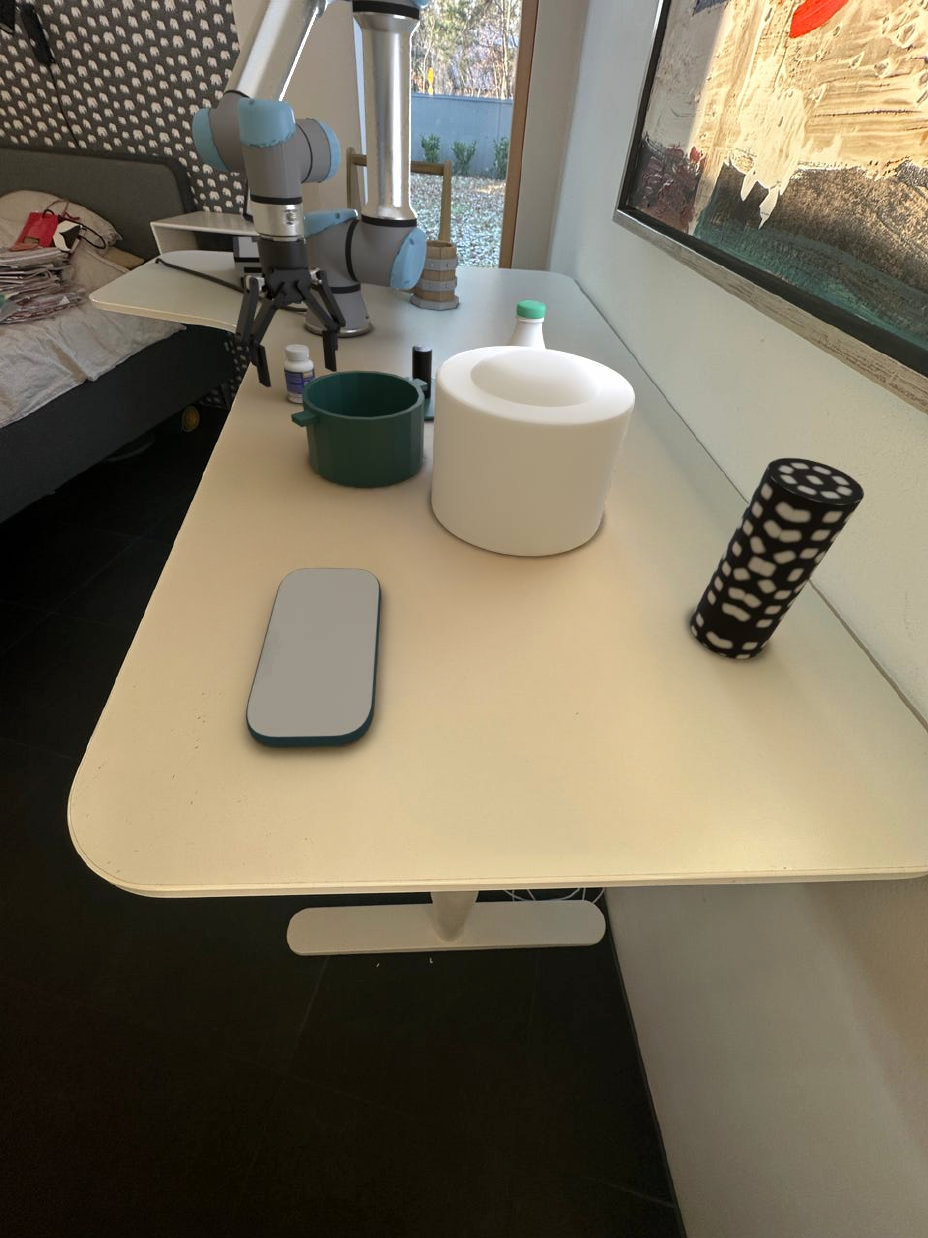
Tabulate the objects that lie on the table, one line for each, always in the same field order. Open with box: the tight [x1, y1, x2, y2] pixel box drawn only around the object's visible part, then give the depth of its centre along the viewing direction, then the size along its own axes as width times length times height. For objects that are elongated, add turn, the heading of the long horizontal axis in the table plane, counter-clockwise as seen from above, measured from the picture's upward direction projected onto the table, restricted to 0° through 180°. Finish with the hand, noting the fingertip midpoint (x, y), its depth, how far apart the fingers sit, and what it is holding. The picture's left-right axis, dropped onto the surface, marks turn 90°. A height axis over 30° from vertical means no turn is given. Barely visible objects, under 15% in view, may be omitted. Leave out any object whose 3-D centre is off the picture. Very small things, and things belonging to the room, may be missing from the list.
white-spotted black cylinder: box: [689, 457, 865, 660], centre depth 57 cm, size 8×8×20 cm
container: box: [430, 345, 636, 557], centre depth 74 cm, size 25×25×20 cm
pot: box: [290, 370, 427, 489], centre depth 84 cm, size 18×23×10 cm
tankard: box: [398, 239, 460, 311], centre depth 148 cm, size 20×13×15 cm, turn 80°
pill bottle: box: [283, 343, 316, 404], centre depth 99 cm, size 5×5×9 cm
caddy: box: [345, 146, 453, 243], centre depth 160 cm, size 29×11×30 cm, turn 77°
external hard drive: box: [245, 567, 382, 748], centre depth 57 cm, size 24×12×2 cm, turn 4°
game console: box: [232, 236, 310, 291], centre depth 158 cm, size 21×32×8 cm, turn 17°
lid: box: [403, 344, 436, 420], centre depth 102 cm, size 19×19×10 cm
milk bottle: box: [505, 299, 547, 349], centre depth 93 cm, size 8×8×20 cm
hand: (299, 377), depth 99 cm, fingers open, 13 cm apart
